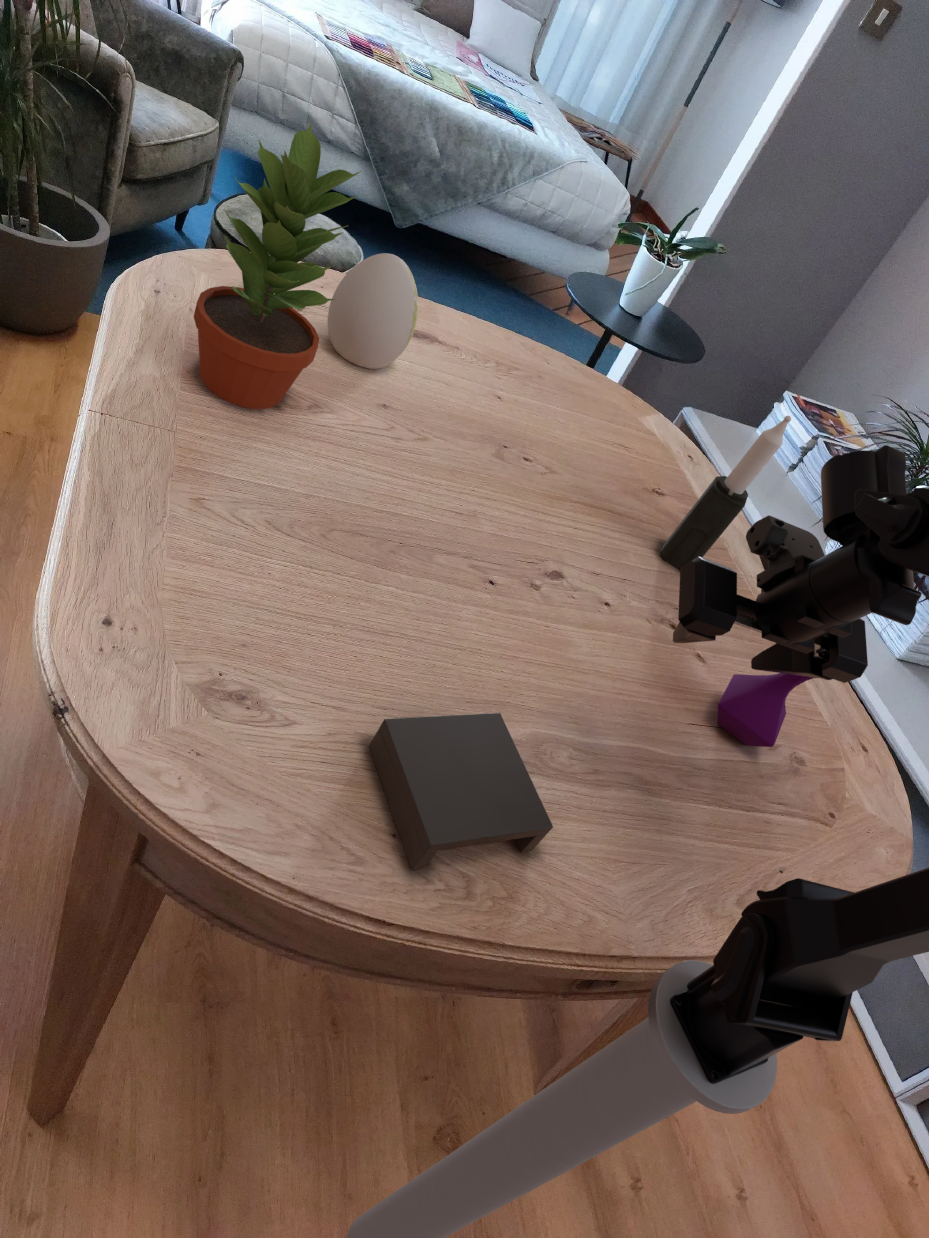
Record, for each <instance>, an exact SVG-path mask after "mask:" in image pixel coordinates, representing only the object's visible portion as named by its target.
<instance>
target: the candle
mask: <svg viewBox="0 0 929 1238" xmlns="http://www.w3.org/2000/svg"><path fill="white" fill-rule="evenodd" d="M791 421H792V417H791V415H785V416H784V418H783V420H780V422H779V423H777V424H776V425H774V426H773V427H772V428H768V429H766V430H763V431H762V432H761V434H760V435H759V436H758V437H757V439H755V441H754V443H753V444H752V445H751V446H750V447H749V449H748V450H747V452H746V453H745V454H744V455H743V456H742V457H741V459H740V460H739V462H738V463H737V464H736V465H735V467H734V468H733V469H732V470H731V472H730V473H729V474H728V476H726V475H719V476H718V475H717V476H715V478H714V479H713V480H712V481H711V482H710V484H709V485H708V486H707V488H706V489H705V490H704V491H703V493H702V494H701V495H700V497H699V498H698V499H697V500H696V502H695V504H694V505H693V506H692V507H691V509H690V510H689V512H687V514H686V515H685V516H684V518H683V519H682V520H681V522H680V523H679V524H678V525H677V527H676V528H675V529H674V531H673V532H672V533H671V535H670V536H669V537H668V538H667V540H666V541H665V542H664V543H663V546H662V548H661V550H660V552H659V556H660V557H661V558H662V560H664V562H668V563H669V564H671V565H672V566H674V567H675V568H677V569H678V570H680V568H682V567H683V566H685V565H686V564H688V563H689V562H691V561H692V560H694V559H695V558H697V557H698V556H699V557H702V558H704V557H705V556H706V554H707V553H708V552H709V550H710V549H711V548H712V547H713V545H714V544H715V543H716V542H717V541H718V539H719V538H720V537H721V536H722V534H723V533H724V532H725V531H726V529H727V528H728V527H729V526H730V525H731V523H732V522H733V521H734V520H735V519H736V517H737V516H739V514H740V513H741V511H742V510H743V509H744V508H745V506H746V503H747V500H748V497H749V493H748V491H747V489H748V488H749V486H750V485H751V483H752V482H753V481H754V480H755V479H756V477H757V476H759V474H760V472H761V471H762V470H763V469H764V468H765V466H766V465H767V464H768V463H769V462H770V460H771V459H772V458H773V456H774V455H775V454H776V453H777V452H778V450H779V449H780V448H781V447H782V445H783V441H784V440H783V438H784V433H785V431H786V430H787V429H786V428H787V427H788V424H789V423H790V422H791Z"/></svg>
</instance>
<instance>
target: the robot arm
mask: <svg viewBox="0 0 929 1238" xmlns="http://www.w3.org/2000/svg"><path fill="white" fill-rule="evenodd" d="M906 459H907V458H906V453H905V452H903V451H900V450H898V449H896V448H894V447H893V446H889V445H887V444H884V445H882V446H880V448H878V449H877V450H856V451H850V452H845V453H843V454H835V455H834V456H833V457H831V458H829V459H828V460H827V461H826V462H825V463H824V464H823V465H822V467H821V470H820V486H821V487H820V490H821V511H822V513H821V514H822V529H823V533H824V534H825V536H826V537H827V538H829V539H830V540H832V541H834V542H837V543H838V544H839V545H840V546H839V547H838V548H836V549H834V550H832V551H831V552H829V553H827V554H825V552H824V549H823V547H822V545H821V543H820V541H819V539H818V538H817V537H816V535H814V534H813V533H812V532H810V531H808V530H806V529H803V528H801V527H799V526H796V525H794V524H791V523H789V522H786V521H784V520H782V519H780V518H778V517H775V516H773V515H770V514H768V515H766V516H764V517H763V518H761V519H759V520H756V521H755V522H754V523H753V524H752V525H751V526H750V528H749V529H748V530H747V531H746V534H745V540H746V543H747V545H748V548H749V551H750V553H751V554H754V555H756V556H758V557H759V560H760V562H761V565H762V568H763V571H761V572H760V573H757V574H756V587H757V588H758V589H760V593H758V595H757V596H756V598H755V600H754V599H751V598H748V597H746V596H744V595H740V594H738V572H736V571H735V570H734V569H732V568H730V567H728V566H726V565H724V564H720V563H718V562H716V561H712V560H710V559H707V558H704V557H699V556H698V557H697V558H695V559H694V560H692V561H691V562H689V563H688V564H686V565H685V566H683V567H682V568H680V569H679V591H678V615H677V617H678V619H677V620H678V623H677V625H676V626H675V628H674V630H673V632H672V642H673V643H675V644H692V643H700V642H702V643H703V642H713V641H716V639H717V638H716V637H718V636H724V635H725V634H728V633H730V631H731V630H732V628H733V626H734V625H737V626H740V627H743V628H746V629H748V630H752V631H753V632H756V633H760V634H761V638H762V639H763V640H767V641H770V642H772V643H774V644H773V645H771V646H769V647H767V648H766V649H764V650H763V651H761V652H759V653H757V654H756V655H755V656H754V657H752V658H751V660H750V661H751V662H750V664H751V666H750V668H751V669H752V670H754V671H761V672H769V673H777V674H778V673H786V674H793V675H800V676H807V677H814V678H813V679H821V680H825V681H833V680H834V681H838V682H839V683H843V684H846V683H849V682H851V681H855V680H856V679H859V678H861V677H862V676H863V674H864V673H865V671H866V670H867V668H868V666H869V664H868V663H869V662H868V661H869V660H868V647H867V634H866V633H867V631H866V621H865V620H864V619H862V618H864V617H866V616H868V615H870V614H874V615H877V616H881V617H883V618H885V619H888V620H891V621H893V622H896V623H899V624H901V625H903V626H909V625H911V623H912V622H913V621H914V618H915V616H916V614H917V604H918V602H919V600H920V599H921V597H922V592H921V591H920V590H918V589H915V580H914V572H915V573H917V574H919V575H922V576H925V577H927V578H929V485H918V486H916V487H914V488H913V490H912V491H910V492H907V481H906V470H907V460H906ZM756 896H757V897H758V899H757V900H754V901H752V902H750V903H749V904H747V905H746V907H745V908H744V909H743V910H742V911H741V914H740V915H741V917H740V918H739V920H738V921H737V923H736V924H735V925H734V927H733V929H732V930H731V932H730V933H729V935H728V937H727V938H725V939H726V940H725V941H724V942H723V944H722V946H721V947H720V949H719V950H718V951H717V953H716V955H715V956H714V958H713V960H712V963H713V964H712V965H713V966H712V967H710V968H709V969H707V970H706V971H704V972H703V973H702V974H700V975H699V976H697V977H696V978H694V979H693V980H692V981H690V982H689V983H688V984H687V988H688V991H685V992H682V993H679V994H676V995H674V996H673V997H671V998H670V1004H671V1006H672V1008H673V1010H674V1012H675V1014H676V1017H677V1019H678V1021H679V1023H680V1025H681V1027H682V1029H683V1031H684V1033H685V1035H686V1037H687V1039H688V1041H689V1043H690V1045H691V1047H692V1049H693V1051H694V1053H695V1055H696V1057H697V1059H698V1061H699V1063H700V1066H701V1068H702V1070H703V1072H704V1074H705V1076H706V1078H707V1080H708V1081H709V1082H710V1083H711V1084H716V1083H719V1082H721V1081H724V1080H726V1079H728V1078H731V1077H733V1076H736V1075H738V1074H741V1073H743V1072H745V1071H748V1070H750V1069H753V1068H755V1067H757V1066H760V1065H762V1064H764V1063H766V1062H767V1061H768V1057H770V1056H772V1055H774V1054H776V1055H777V1053H779V1052H782V1051H783V1050H785V1049H786V1048H788V1047H790V1046H793V1045H794V1044H796V1043H797V1042H799V1041H801V1040H803V1039H804V1037H806V1038H811V1039H814V1040H815V1041H818V1042H819V1041H820V1042H841V1041H842V1039H843V1035H844V1031H845V1027H846V1023H847V1019H848V1015H849V1010H850V1007H851V1002H852V997H853V995H854V992H857V991H858V990H861V989H862V988H865V987H866V986H868V985H870V984H872V983H874V981H875V979H876V978H877V977H878V975H879V974H880V971H882V969H883V967H884V966H885V965H886V964H888V963H890V962H893V961H897V960H901V959H906V958H909V957H914V956H918V955H921V954H926V953H929V867H926V868H923V869H920V870H916V871H913V872H910V873H908V874H904V875H902V876H899V877H896V878H894V879H891V880H888V881H885V882H882V883H879V884H875V885H872V886H870V887H866V888H864V889H861V890H858V891H851V890H847V889H844V888H843V889H842V888H839V887H836V886H835V887H834V886H831V885H827V884H823V883H820V882H816V881H812V880H809V879H808V880H807V879H803V878H799V877H798V878H794V879H791V880H787V881H786V882H783V883H782V884H780V886H778V887H776V888H774V889H771V890H767V891H765V890H761V889H759V890H757V891H756ZM675 1000H676V1001H677V1002H678V1004H677V1003H676V1001H675ZM712 1074H713V1075H714V1078H713V1076H712Z"/></svg>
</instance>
